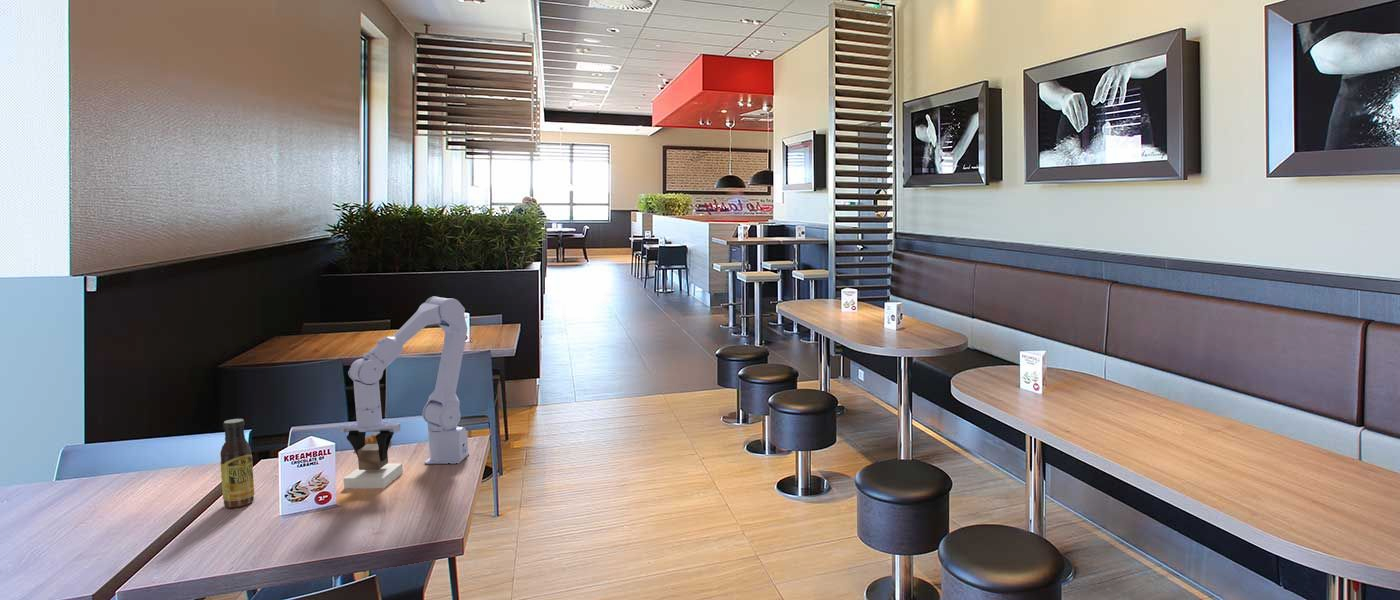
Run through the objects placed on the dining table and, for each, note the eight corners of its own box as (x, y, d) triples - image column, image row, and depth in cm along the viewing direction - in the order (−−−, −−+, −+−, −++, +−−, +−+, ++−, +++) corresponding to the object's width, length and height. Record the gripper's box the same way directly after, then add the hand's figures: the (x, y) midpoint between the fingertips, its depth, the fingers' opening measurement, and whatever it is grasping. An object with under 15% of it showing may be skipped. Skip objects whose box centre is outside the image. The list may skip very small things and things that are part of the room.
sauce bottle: (232, 511, 163) (222, 426, 161) (218, 505, 167) (209, 423, 164) (262, 501, 169) (253, 419, 166) (248, 496, 172) (239, 415, 170)
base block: (402, 474, 185) (402, 463, 185) (384, 489, 175) (383, 478, 175) (365, 474, 186) (364, 463, 185) (344, 490, 176) (343, 478, 176)
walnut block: (388, 462, 183) (386, 443, 182) (378, 469, 178) (377, 450, 177) (368, 462, 183) (367, 443, 182) (358, 469, 178) (357, 450, 177)
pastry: (359, 454, 201) (358, 441, 201) (351, 448, 206) (350, 435, 206) (393, 446, 207) (392, 433, 207) (385, 441, 212) (384, 428, 212)
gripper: (330, 411, 174) (335, 465, 176) (389, 411, 174) (393, 465, 176) (346, 403, 181) (350, 455, 183) (402, 403, 181) (406, 455, 183)
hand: (372, 459), depth 180 cm, fingers closed on walnut block, 5 cm apart
